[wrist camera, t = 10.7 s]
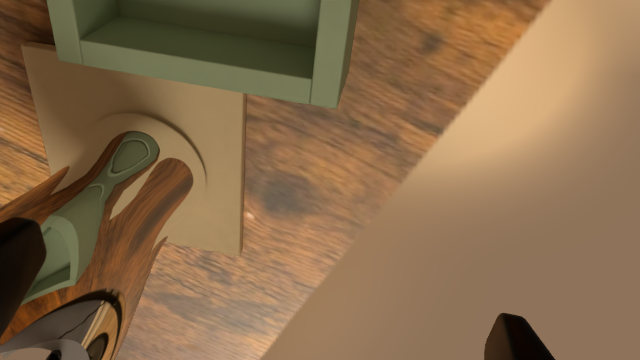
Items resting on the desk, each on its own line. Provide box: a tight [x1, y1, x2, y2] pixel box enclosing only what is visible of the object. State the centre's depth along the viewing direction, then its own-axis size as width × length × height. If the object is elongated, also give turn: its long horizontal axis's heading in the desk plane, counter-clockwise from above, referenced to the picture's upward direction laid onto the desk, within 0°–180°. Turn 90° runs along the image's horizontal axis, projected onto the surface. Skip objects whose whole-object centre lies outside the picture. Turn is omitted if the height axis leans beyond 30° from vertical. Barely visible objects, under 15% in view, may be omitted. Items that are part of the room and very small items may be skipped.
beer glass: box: [0, 113, 206, 360], centre depth 19 cm, size 7×7×15 cm
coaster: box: [21, 41, 246, 256], centre depth 25 cm, size 10×10×1 cm
